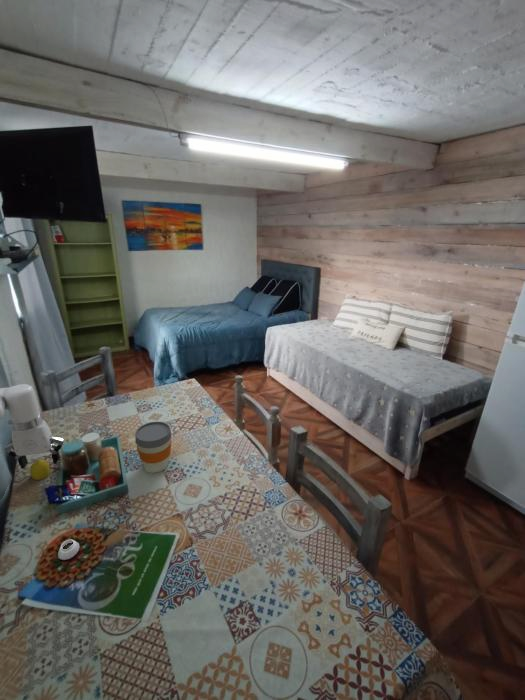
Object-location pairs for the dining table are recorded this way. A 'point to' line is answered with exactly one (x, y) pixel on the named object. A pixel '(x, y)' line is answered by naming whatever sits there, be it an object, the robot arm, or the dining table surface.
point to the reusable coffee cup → (154, 445)
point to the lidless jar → (68, 550)
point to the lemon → (39, 470)
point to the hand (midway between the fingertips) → (40, 463)
